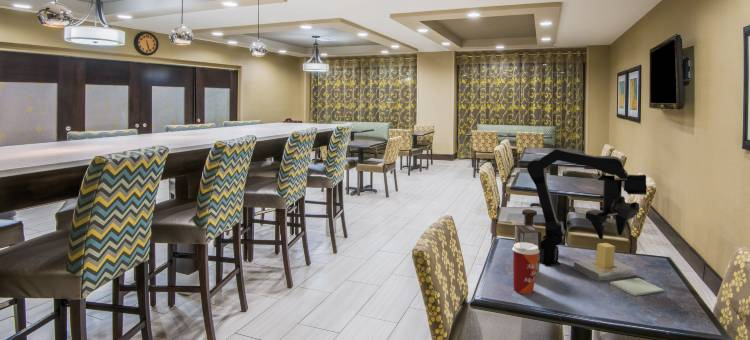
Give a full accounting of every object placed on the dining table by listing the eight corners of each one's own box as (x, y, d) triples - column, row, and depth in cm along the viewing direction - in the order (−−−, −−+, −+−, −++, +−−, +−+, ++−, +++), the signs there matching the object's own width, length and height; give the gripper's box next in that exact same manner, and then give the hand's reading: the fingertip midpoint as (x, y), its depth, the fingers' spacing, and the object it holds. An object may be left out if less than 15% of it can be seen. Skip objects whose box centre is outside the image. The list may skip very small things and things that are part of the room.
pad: (634, 296, 152) (634, 294, 151) (609, 283, 161) (609, 282, 161) (663, 291, 155) (663, 289, 155) (637, 279, 165) (637, 277, 164)
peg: (603, 274, 169) (606, 247, 167) (595, 270, 172) (597, 243, 171) (612, 273, 170) (615, 246, 168) (603, 269, 174) (606, 242, 172)
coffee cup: (533, 298, 149) (536, 251, 147) (506, 292, 154) (509, 247, 151) (539, 288, 156) (542, 244, 154) (514, 283, 161) (516, 240, 158)
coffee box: (539, 277, 166) (542, 232, 163) (521, 277, 165) (524, 232, 163) (528, 267, 175) (531, 224, 172) (511, 267, 174) (514, 224, 172)
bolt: (533, 244, 200) (535, 209, 198) (535, 248, 196) (538, 212, 193) (518, 243, 201) (521, 209, 198) (521, 247, 196) (523, 212, 194)
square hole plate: (598, 281, 163) (598, 274, 163) (573, 268, 174) (573, 261, 174) (635, 275, 168) (635, 268, 168) (608, 263, 179) (609, 257, 179)
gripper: (612, 200, 156) (610, 247, 158) (652, 194, 163) (650, 238, 165) (585, 194, 166) (583, 238, 168) (623, 188, 173) (622, 231, 176)
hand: (610, 236), depth 169 cm, fingers open, 9 cm apart
